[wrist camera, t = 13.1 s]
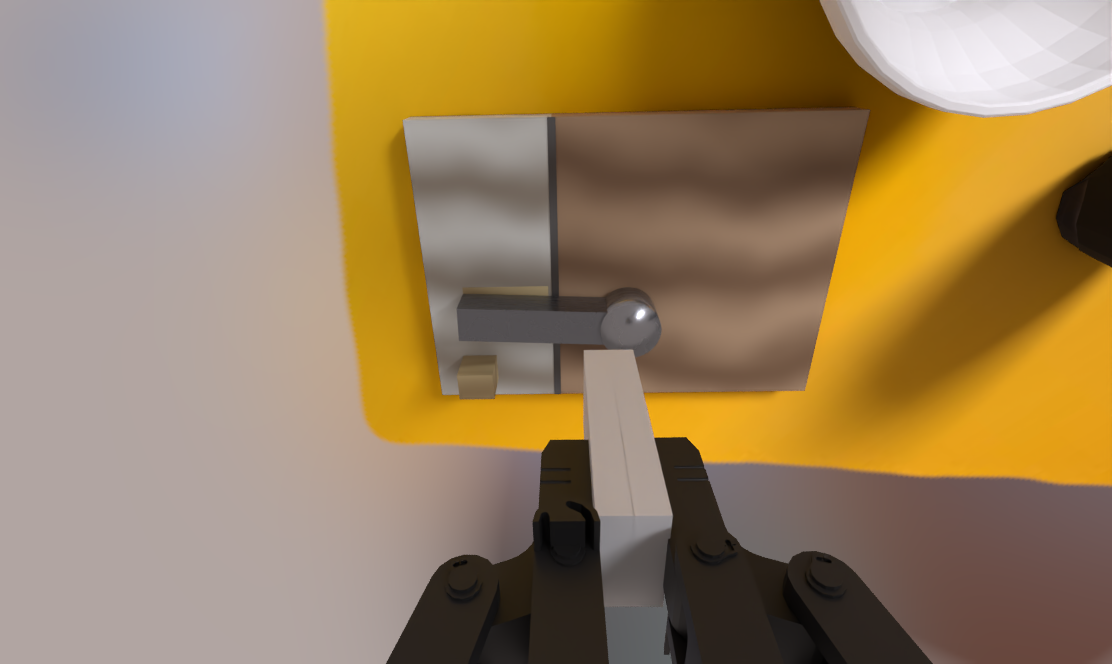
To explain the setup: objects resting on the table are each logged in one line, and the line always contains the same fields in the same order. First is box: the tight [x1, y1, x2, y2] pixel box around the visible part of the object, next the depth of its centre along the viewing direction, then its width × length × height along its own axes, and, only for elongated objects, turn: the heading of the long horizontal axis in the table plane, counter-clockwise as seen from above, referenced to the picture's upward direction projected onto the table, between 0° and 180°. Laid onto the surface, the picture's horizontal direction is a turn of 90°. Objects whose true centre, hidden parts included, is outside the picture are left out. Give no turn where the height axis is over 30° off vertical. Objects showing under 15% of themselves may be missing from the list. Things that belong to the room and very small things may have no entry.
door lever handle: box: [457, 287, 662, 357], centre depth 36 cm, size 14×4×3 cm, turn 89°
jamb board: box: [403, 107, 870, 399], centre depth 36 cm, size 20×28×5 cm
